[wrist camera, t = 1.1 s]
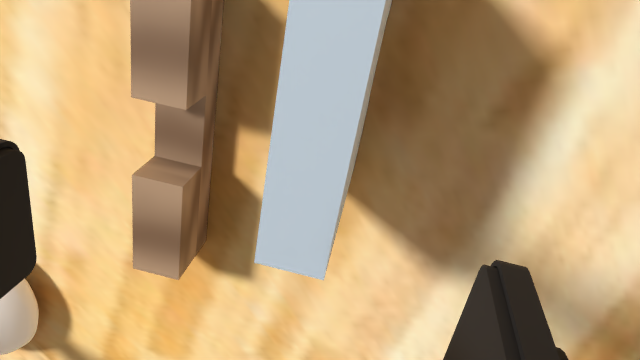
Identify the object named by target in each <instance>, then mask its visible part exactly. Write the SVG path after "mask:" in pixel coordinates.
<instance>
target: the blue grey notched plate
mask: <svg viewBox="0 0 640 360" xmlns="http://www.w3.org/2000/svg"><path fill="white" fill-rule="evenodd" d="M391 3H392V0H289V8H288V15H287V22H286V30H285V37H284V45H283V52H282V60H281V67H280V74H279V82H278V89H277V97H276V104H275V112H274V119H273V127H272V134H271V141H270V149H269V156H268V164H267V171H266V179H265V186H264V193H263V201H262V208H261V216H260V223H259V231H258V238H257V245H256V253H255V260H254V263H258V264H262V265H266V266H270V267H273V268H277V269H281V270H285V271H289V272H293V273H297V274H301V275H305V276H309V277H313V278H317V279H321V280H324V277H325V273H326V269H327V266H328V262H329V258H330V255H331V251H332V247H333V244H334V240H335V236H336V233H337V229H338V225H339V222H340V218H341V214H342V210H343V207H344V203H345V199H346V196H347V192H348V188H349V185H350V181H351V177H352V174H353V170H354V166H355V161H356V157H357V152H358V148H359V144H360V139H361V135H362V131H363V126H364V122H365V117H366V113H367V109H368V104H369V100H370V92H371V88H372V84H373V79H374V75H375V70H376V66H377V62H378V57H379V53H380V48H381V44H382V40H383V35H384V31H385V26H386V22H387V18H388V16H389V12H390V8H391Z"/></svg>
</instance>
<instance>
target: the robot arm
mask: <svg viewBox="0 0 640 360" xmlns="http://www.w3.org/2000/svg"><path fill="white" fill-rule="evenodd" d="M35 264H36V248H35V240H34V231H33V222H32V214H31V205H30V197H29V188H28V179H27V171H26V162H25V157H24V155H23V153H22V152H20V151H19V148H18V146H17V145H16V144H15V143H13V142H11V141H7V140H2V139H0V299H1V298H2V297H4V296H5V295H6V294H7V293H8V292H9V291H11V290H12V289H13V288H14V287H15V286H16V285H18V284H19V283H20V282H21V281H22V280H23V279H25V278H26V277H27V276H28V275H29V274H30V273H31V272H32V270H33V269H34V266H35ZM443 360H568V358H567V356H566V354H565V352H564V351H562V350H561V349H560V348H557V347H556V346H555V344H554V341H553V338H552V335H551V332H550V329H549V326H548V324H547V321H546V318H545V315H544V312H543V309H542V306H541V303H540V301H539V298H538V295H537V292H536V289H535V286H534V283H533V280H532V278H531V275H530V272H529V270H528V268H526V267H523V266H519V265H515V264H511V263H507V262H503V261H499V260H495V261H494V262H493V263H492V265H491V266H487V265H482V267H481V268H480V270H479V272H478V275H477V277H476V280H475V282H474V284H473V287H472V289H471V292H470V294H469V297H468V299H467V302H466V304H465V307H464V309H463V312H462V314H461V317H460V319H459V322H458V324H457V327H456V329H455V332H454V334H453V337H452V339H451V342H450V344H449V346H448V349H447V351H446V354H445V356H444V359H443Z"/></svg>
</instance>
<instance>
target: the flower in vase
mask: <svg viewBox="0 0 640 360" xmlns="http://www.w3.org/2000/svg"><path fill="white" fill-rule="evenodd" d="M38 319H39V310H38V304H37V300H36V297H35V295H34V293H33V290H32V289H31V287H30V285H29V284H28V282H27V281H26V279H23V280H22V281H21V282H20V283H19V284H18V285H16V286H15V287H14V288H13V289H12V290H11V291H9V292H8V293H7V294H6V295H5V296H4V297H2V298H1V299H0V355H2V354H7V353H10V352H13V351H15V350H17V349H19V348H21V347H23V346H24V345H26V344H27V343H29V342H30V341H31V340H32V338H33V337H34V335H35V333H36V331H37V326H38Z"/></svg>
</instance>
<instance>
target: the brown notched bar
mask: <svg viewBox="0 0 640 360" xmlns="http://www.w3.org/2000/svg"><path fill="white" fill-rule="evenodd" d="M223 7H224V0H130V8H131V97H132V98H136V99H141V100H145V101H150V102H154V103H156V110H155V156H154V157H153V158H152V159H151V160H149V161H148V162H147V163H146V164H145V165H143V166H142V167H141V168H140V169H139V170H137V171H136V172H135V173H134V174H133V175H132V204H133V268H134V269H138V270H142V271H146V272H149V273H153V274H157V275H161V276H165V277H169V278H173V279H176V280H179V279H180V277H181V276H182V274H183V273H184V271H185V270H186V269H187V267H188V266H189V264H190V263H191V261H192V260H193V259H194V257H195V256H196V254H197V253H198V251H199V250H200V248H201V247H202V246H203V244H204V243H205V241H206V234H207V221H208V207H209V194H210V180H211V167H212V154H213V140H214V127H215V114H216V100H217V87H218V74H219V60H220V47H221V34H222V20H223Z"/></svg>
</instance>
